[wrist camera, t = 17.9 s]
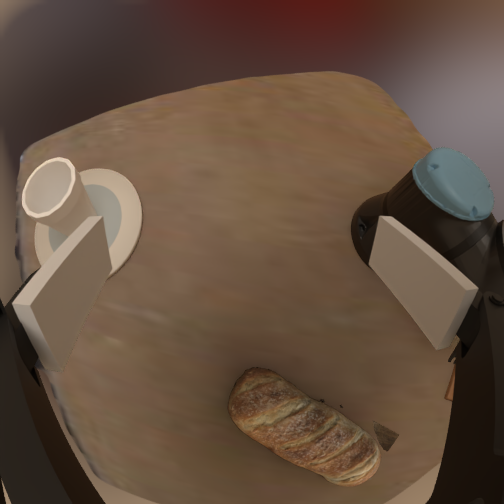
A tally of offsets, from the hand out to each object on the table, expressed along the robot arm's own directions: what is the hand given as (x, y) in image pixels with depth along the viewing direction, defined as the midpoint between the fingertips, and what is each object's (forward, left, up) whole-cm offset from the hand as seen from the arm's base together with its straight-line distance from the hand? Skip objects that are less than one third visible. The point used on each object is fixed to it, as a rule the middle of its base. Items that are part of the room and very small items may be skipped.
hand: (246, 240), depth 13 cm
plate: (+9, -27, -32) cm, 43 cm away
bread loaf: (+4, +23, -33) cm, 40 cm away
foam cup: (+10, -27, -31) cm, 42 cm away
